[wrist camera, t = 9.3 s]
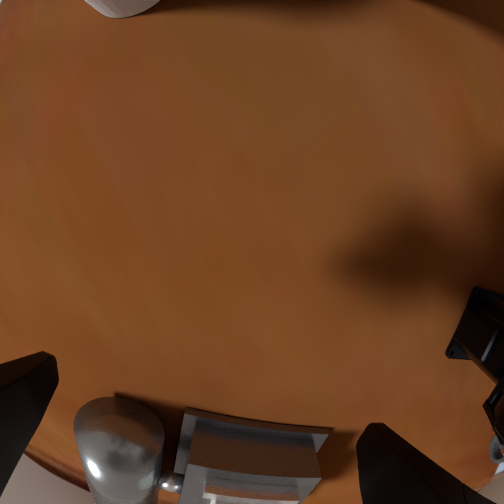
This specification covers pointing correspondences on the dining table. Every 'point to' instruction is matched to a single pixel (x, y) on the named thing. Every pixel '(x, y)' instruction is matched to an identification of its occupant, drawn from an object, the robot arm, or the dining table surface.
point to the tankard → (496, 450)
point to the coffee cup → (121, 7)
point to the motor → (194, 456)
